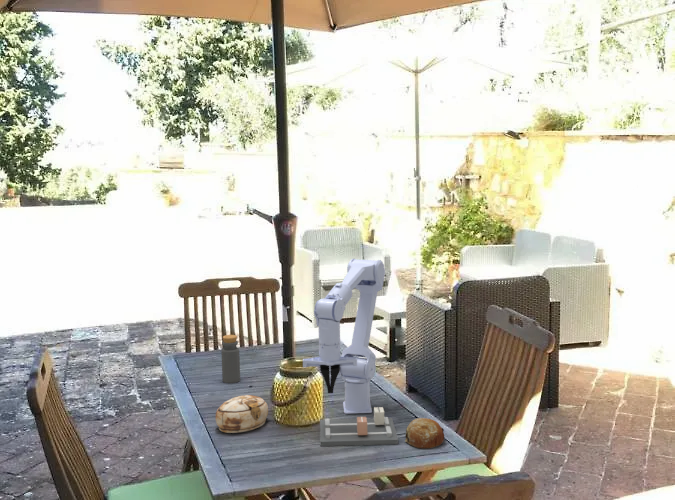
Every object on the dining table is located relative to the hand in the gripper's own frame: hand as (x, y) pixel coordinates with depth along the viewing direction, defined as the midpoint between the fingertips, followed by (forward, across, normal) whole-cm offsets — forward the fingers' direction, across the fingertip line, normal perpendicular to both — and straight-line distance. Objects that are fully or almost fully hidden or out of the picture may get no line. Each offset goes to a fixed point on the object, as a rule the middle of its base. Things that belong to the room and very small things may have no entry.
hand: (330, 391), depth 208 cm
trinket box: (+11, -24, +5) cm, 27 cm away
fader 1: (+9, +8, -7) cm, 14 cm away
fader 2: (+9, +13, -1) cm, 16 cm away
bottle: (+11, -32, +46) cm, 57 cm away
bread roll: (+11, +24, -10) cm, 28 cm away
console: (+10, +7, -4) cm, 13 cm away
